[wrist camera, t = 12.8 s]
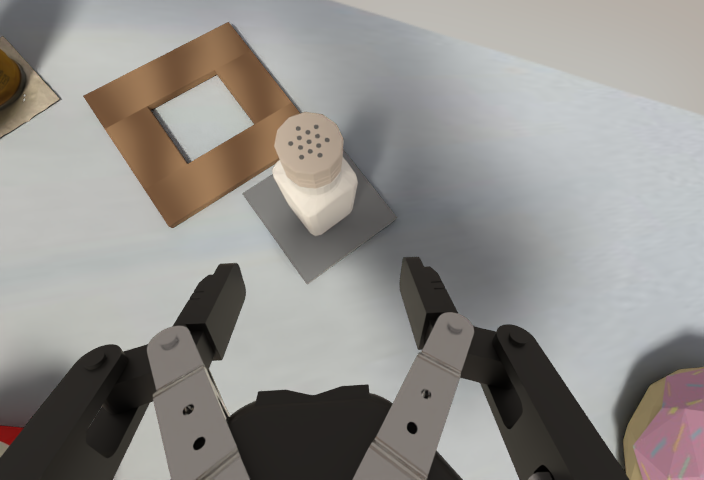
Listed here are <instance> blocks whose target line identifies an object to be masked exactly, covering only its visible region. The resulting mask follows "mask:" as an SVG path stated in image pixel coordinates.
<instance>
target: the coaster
mask: <svg viewBox="0 0 704 480" xmlns="http://www.w3.org/2000/svg"><path fill="white" fill-rule="evenodd" d="M343 158H344V159H345V160H346V161H347V163H348V164H349V165H350V167H351V168H352V170H353V171H354V172H355V174H356V177H357V181H358V184H357V189H356V194H355V199H354V204H353V209H352V211H351V212H350V214H349V215H347V216H346V217H345V218H343V219H342V220H341V221H339V222H338V223H337V224H335V225H334V226H332V227H331V228H330V229H328V230H327V231H326V232H324V233H323V234H322V235H318V236H314V235H313V234H311V233H310V232H309V231H308V229H307V228H306V227H305V226H304V224H303V223H302V222H301V220H300V219H299V218H298V217H297V215H296V214H295V213H294V211H293V210H292V209H291V208H290V206H289V205H288V203H287V201H286V199H285V197H284V195H283V194H282V192H281V190H280V188H279V186H278V184H277V182H276V181H275V179H274V177H273V174H272V175H271V176H269V177H268V178H266V179H264V180H263V181H261V182H260V183H258V184H257V185H255V186H253V187H252V188H250V189H249V190H247V191H246V192H244V193H242V194H243V195H244V197H245V198H246V200H247V201H248V202H249V204H250V205H251V207H252V208H253V209H254V211H255V212H256V214H257V215H258V216H259V218H260V219H261V221H262V222H263V223H264V225H265V226H266V228H267V229H268V230H269V232H270V233H271V235H272V236H273V237H274V239H275V240H276V242H277V243H278V244H279V246H280V247H281V249H282V250H283V251H284V253H285V254H286V256H287V257H288V258H289V260H290V261H291V263H292V264H293V266H294V267H295V268H296V270H297V271H298V273H299V274H300V275H301V277H302V278H303V280H304V281H305V282H306V284H309V283H310V282H312V281H313V280H314V279H316V278H317V277H318V276H320V275H321V274H322V273H324V272H325V271H327V270H328V269H329V268H331V267H332V266H333V265H335V264H336V263H337V262H339V261H340V260H341V259H343V258H344V257H346V256H347V255H348V254H350V253H351V252H352V251H354V250H355V249H356V248H358V247H359V246H361V245H362V244H363V243H365V242H366V241H367V240H369V239H370V238H371V237H373V236H374V235H376V234H377V233H378V232H380V231H381V230H382V229H384V228H385V227H386V226H388V225H389V224H391V223H392V222H393V221H395V220H396V219H397V217H396V215H395V214H394V213H393V211H392V210H391V209H390V208H389V206H388V205H387V204H386V203H385V201H384V200H383V199H382V198H381V196H380V195H379V194H378V193H377V191H376V190H375V189H374V188H373V186H372V185H371V184H370V182H369V181H368V180H367V179H366V177H365V176H364V175H363V174H362V172H361V171H360V170H359V169H358V167H357V166H356V165H355V164H354V162H353V161H352V160H351V159H350V157H349V156H348V155H347V153H346V152H345V151H344V150H343Z"/></svg>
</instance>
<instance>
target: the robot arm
mask: <svg viewBox="0 0 704 480" xmlns="http://www.w3.org/2000/svg"><path fill="white" fill-rule="evenodd" d="M400 292H401V295H402V299H403V302H404V305H405V309H406V312H407V315H408V318H409V322H410V325H411V328H412V332H413V335H414V338H415V341H416V345H417V348H418V350H422V352H421V353H420V352H419V353H418V355H417V357H416V359H415V361H414V362H413V364H412V366H411V368H410V370H409V372H408V374H407V376H406V378H405V380H404V382H403V384H402V386H401V388H400V390H399V392H398V394H397V396H396V398H395V400H394V402H393V403H391V402H390V401H388V400H387V399H385V398H383V397H381V396H378V395H375V394H372V393H369V386H368V385H354V386H341V387H338V388H335V389H332V390H329V391H326V392H323V393H320V394H317V395H308V394H303V393H298V392H294V391H289V390H275V391H259V392H258V395H257V399H256V401H254V402H252V403H250V404H248V405H246V406H244V407H242V408H240V409H239V410H237V411H236V412H235V413H233V414H232V415H231V416H230V415H229V412H228V410H227V408H226V406H225V404H224V402H223V399H222V397H221V395H220V392H219V390H218V388H217V386H216V383H215V381H214V379H213V376H212V374H211V372H210V370H209V367H210V364H211V362H212V361H215V360H222V359H223V357H224V354H225V351H226V348H227V346H228V343H229V340H230V338H231V335H232V332H233V330H234V327H235V324H236V322H237V319H238V316H239V314H240V311H241V308H242V305H243V303H244V300H245V296H246V289H245V284H244V281H243V278H242V274H241V271H240V268H239V265H238V264H237V263H228V264H219V266H218V267H217V269H216V271H215V273H214V274H213V275H208V276H207V277H205V278H204V279H203V280H202V281H201V282H199V284H198V286H197V287H196V289H195V290H194V293H193V294H192V295H191V297H190V300H188V302H187V304H186V305H185V307H184V308H183V310H182V312H181V313H180V315H179V317H178V318H177V320H176V322H175V323H174V325H173V326H172V327H169V328H167V329H164V330H163V331H161V332H159V333H158V334H157V335H155V336H154V337H153V338H152V339H151V341H150V342H149V344H147V345H144V346H141V347H138V348H134V349H131V350H128V351H124V352H123V351H122V349H121V348H120V347H119V346H117V345H113V344H110V345H104V346H101V347H98V348H96V349H93V350H92V351H90V352H88V353H87V354H85V355H84V356H82V357H81V358H80V359H79V360H78V361H77V362H76V363H75V364H74V365H73V367H72V368H71V369H70V370H69V372H68V373H67V374H66V375H65V377H64V378H63V379H62V380H61V382H60V383H59V384H58V386H57V387H56V388H55V389H54V391H53V392H52V393H51V394H50V396H49V397H48V398H47V399H46V401H45V402H44V403H43V404H42V406H41V407H40V408H39V409H38V411H37V412H36V413H35V414H34V416H33V417H32V418H31V419H30V421H29V422H28V423H27V424H26V426H25V427H24V428H23V429H22V431H21V432H20V433H19V435H18V436H17V437H16V438H15V440H14V441H13V442H12V443H11V445H10V446H9V447H8V448H7V450H6V451H5V452H4V453H3V455H2V456H1V457H0V480H113V478H114V476H115V474H116V472H117V470H118V468H119V465H120V463H121V461H122V459H123V457H124V455H125V453H126V451H127V449H128V447H129V445H130V443H131V441H132V438H133V436H134V434H135V432H136V430H137V428H138V426H139V424H140V422H141V420H142V418H143V416H144V414H145V411H146V409H147V407H148V405H149V403H150V402H153V401H154V406H155V410H156V414H157V419H158V423H159V428H160V432H161V436H162V441H163V445H164V450H165V454H166V458H167V463H168V467H169V471H170V476H171V480H463V479H462V478H461V477H460V476H459V475H458V474H457V473H456V472H455V471H454V469H453V468H452V467H451V466H450V465H449V464H448V463H447V462H446V461H445V459H444V458H443V457H442V456H441V455H440V454H439V453H438V452H437V451H436V449H437V446H438V443H439V440H440V437H441V434H442V431H443V428H444V425H445V422H446V419H447V416H448V413H449V410H450V407H451V404H452V401H453V398H454V395H455V391H456V388H457V385H458V382H459V379H460V378H464V379H468V380H472V381H476V382H479V383H480V384H481V386H482V389H483V391H484V393H485V396H486V398H487V401H488V403H489V406H490V408H491V411H492V413H493V416H494V418H495V421H496V423H497V425H498V428H499V430H500V433H501V435H502V438H503V440H504V443H505V445H506V448H507V450H508V452H509V455H510V457H511V460H512V462H513V465H514V467H515V470H516V472H517V475H518V477H519V480H630V479H629V478H628V476H627V475H626V474H625V472H624V471H623V469H622V468H621V466H620V465H619V463H618V462H617V460H616V459H615V457H614V456H613V454H612V453H611V451H610V450H609V448H608V447H607V445H606V444H605V442H604V441H603V439H602V438H601V436H600V435H599V433H598V432H597V430H596V429H595V427H594V426H593V424H592V423H591V421H590V420H589V419H588V417H587V416H586V414H585V413H584V411H583V410H582V408H581V407H580V405H579V404H578V402H577V401H576V399H575V398H574V396H573V395H572V393H571V392H570V390H569V389H568V387H567V386H566V384H565V383H564V381H563V380H562V378H561V377H560V375H559V374H558V372H557V371H556V369H555V368H554V366H553V365H552V363H551V362H550V361H549V359H548V358H547V356H546V355H545V353H544V352H543V350H542V349H541V347H540V346H539V344H538V343H537V341H536V340H535V338H534V337H533V336H532V335H531V334H530V333H529V332H527V331H526V330H524V329H522V328H520V327H518V326H515V325H508V324H507V325H502V326H500V327H499V328H498V329H497V332H495V331H491V330H486V329H481V328H478V327H475V326H473V325H472V324H471V322H470V321H469V320H468V319H467V318H465V317H464V316H462V315H460V314H458V312H457V310H456V308H455V306H454V304H453V302H452V300H451V298H450V296H449V294H448V292H447V290H446V289H445V287H444V285H443V283H442V281H441V279H440V277H439V275H438V273H437V272H436V271H435V270H433V269H432V268H431V267H424V266H423V264H422V262H421V259H420V258H419V257H404V258H403V261H402V268H401V275H400ZM101 406H102V407H101ZM100 408H101V409H100ZM99 410H100V411H99ZM98 411H99V412H98ZM97 413H98V414H97ZM96 415H97V416H96ZM95 416H96V417H95ZM94 418H95V419H94ZM93 419H94V420H93ZM92 421H93V422H92ZM91 423H92V424H91ZM90 424H91V425H90ZM89 426H90V427H89ZM88 428H89V429H88Z"/></svg>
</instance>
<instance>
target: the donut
mask: <svg viewBox="0 0 704 480" xmlns="http://www.w3.org/2000/svg"><path fill="white" fill-rule="evenodd" d="M623 447H624V457H625V468H626V475H627V476H628V478H629V479H630V480H704V367H699V368H688V369H679V370H677V371H675V372H673V373H671V374H669V375H668V376H666V377H664V378H662V379H660V380H658V381H657V382H655V383H653V384H651V385H650V386H649V388H648V390H647V391H646V393H645V395H644V397H643V398H642V400H641V402H640V404H639V406H638V407H637V409H636V411H635V413H634V414H633V416H632V418H631V420H630V421H629V423H628V426H627V429H626V432H625V436H624V439H623Z"/></svg>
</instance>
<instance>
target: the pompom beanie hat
mask: <svg viewBox="0 0 704 480" xmlns="http://www.w3.org/2000/svg"><path fill="white" fill-rule="evenodd" d="M22 429H23V428H19V427H10V426H0V457H1V456H2V455H3V453H4V452H5V451H6V450H7V448H8V447H9V446H10V445H11V443H12V442H13V441H14V440H15V438H16V437H17V436H18V435H19V433H20V432H21V431H22Z"/></svg>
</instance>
